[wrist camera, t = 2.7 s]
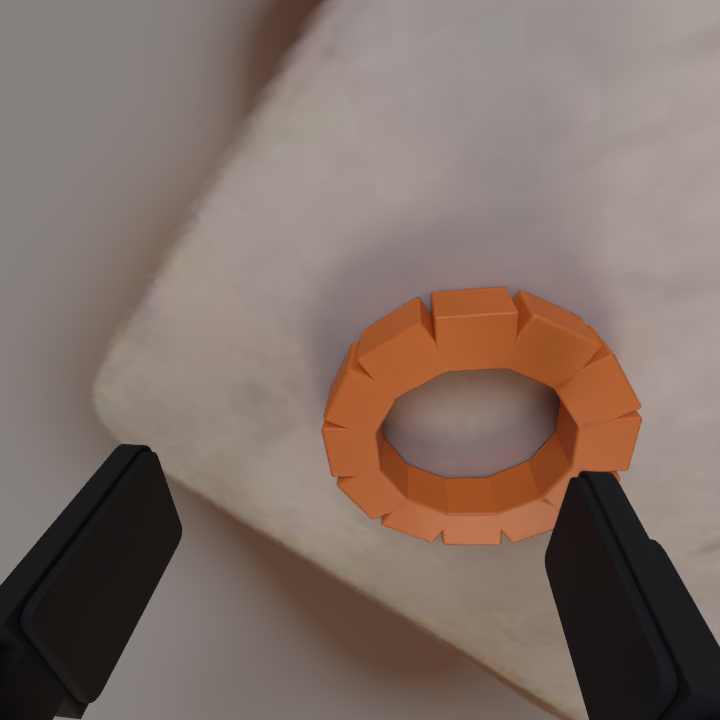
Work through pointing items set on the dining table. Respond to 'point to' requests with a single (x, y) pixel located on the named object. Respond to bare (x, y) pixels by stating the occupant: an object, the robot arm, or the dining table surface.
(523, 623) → the dining table surface
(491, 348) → the ring
